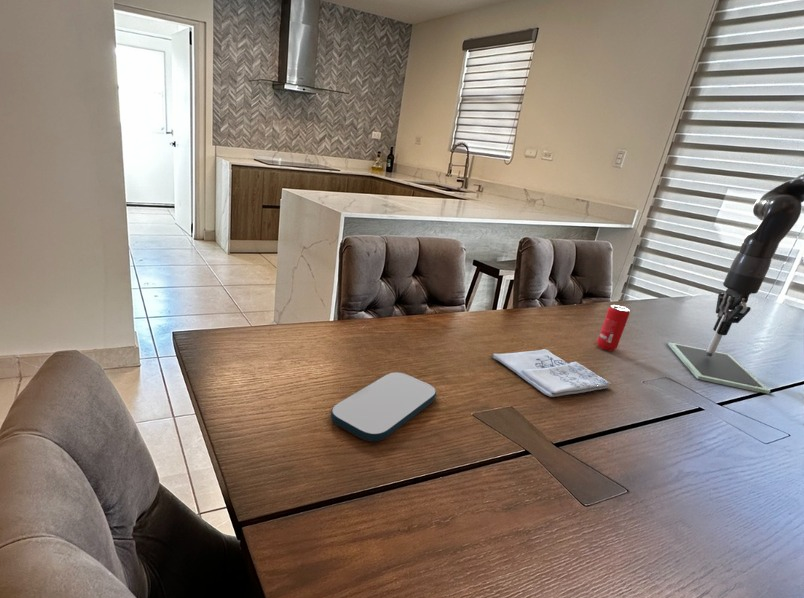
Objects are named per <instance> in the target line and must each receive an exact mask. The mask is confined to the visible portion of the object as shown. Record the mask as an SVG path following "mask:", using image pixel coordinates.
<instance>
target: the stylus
mask: <svg viewBox="0 0 804 598" xmlns="http://www.w3.org/2000/svg"><path fill="white" fill-rule="evenodd" d="M723 317H724V315H723V316H722V318H721V320H720V323H719V325H718V327H717V329H716V331H714V333H713V336H712V338H711V341H710V342H709V345H708V347H707V349H706V350H707V353H706V355H707V356H710V357H711V356H712V355H713V354H714V353H715V351H716V350H717V348H718V346H719V344H720V343H721V339H722V338H723V335H719V334H718V333H717V330H718V328H719V326H720V324H721V321H722V319H723Z"/></svg>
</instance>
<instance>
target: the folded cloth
mask: <svg viewBox="0 0 804 598" xmlns="http://www.w3.org/2000/svg"><path fill="white" fill-rule="evenodd" d="M492 358H493V359H494V360H496V361H498V362H499V363H500V364H502V365H504V366H505V367H507V369H510V370H511V371H512V372H514V373H516V374H517V376H519V377H520V378H522V379H523V380H525V382H527V383H528V384H530V385H531V386H533V388H535V389H537V390H538V391H539V392H541V393H542V394H543V395H545V396H546V397H547V396H548V397H549V398H555V397H561V396H569V395H577V394H583V393H587V392H593V391H599V390H604V389H605V390H606V389H608V388H609V386H611V385H612V383H611V382H610V381H609V380H607V379H605V378H603V377H602V376H599V375H598V374H596V373H595V372H594V371H592V370H590V369H589V368H587V367H585V365H582V364H581V363H580V362H578V361H570V362H568V361H565V360H564V359H562V358H561V357H559V356H557V355H555V354H554V353H552V352H551V351H550V350H548V349H545V348H543V349H538V350H537V349H536V350H528V351H519V352H518V351H517V352H506V353H495V352H494V353H493V354H492Z"/></svg>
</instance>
